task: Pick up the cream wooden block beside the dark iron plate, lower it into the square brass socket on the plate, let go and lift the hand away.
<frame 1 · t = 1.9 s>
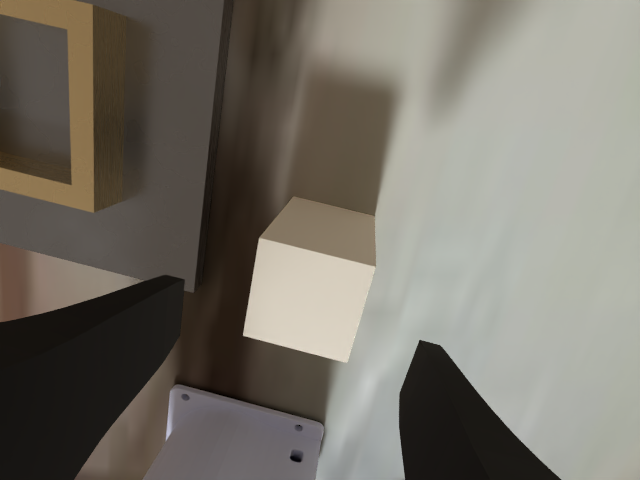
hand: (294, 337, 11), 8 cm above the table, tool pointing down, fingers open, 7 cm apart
cream block: (325, 243, 19), on the table
socket plate: (57, 96, 18), on the table
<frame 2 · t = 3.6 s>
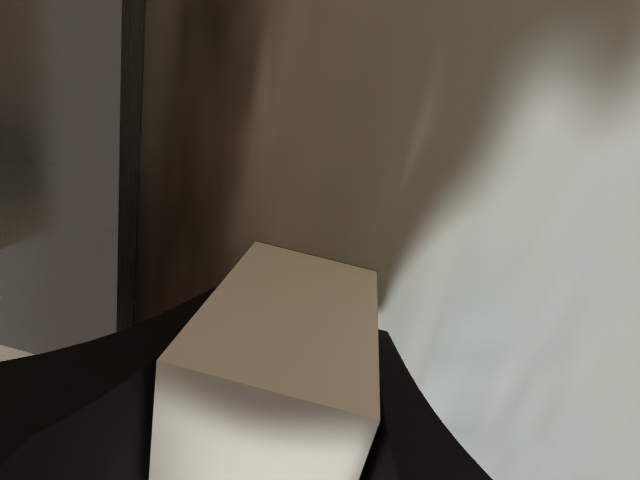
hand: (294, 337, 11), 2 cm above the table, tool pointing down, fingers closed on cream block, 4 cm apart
cream block: (303, 309, 13), on the table, touching gripper
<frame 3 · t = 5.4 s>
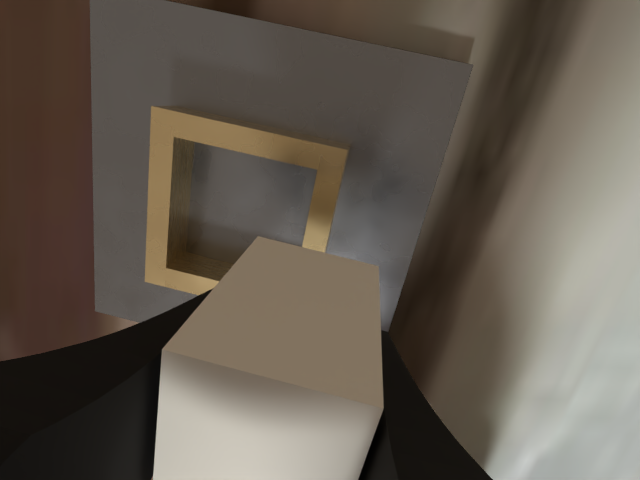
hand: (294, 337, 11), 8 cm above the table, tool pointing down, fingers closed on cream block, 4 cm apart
cream block: (305, 303, 13), point 7 cm above the table, touching gripper
socket plate: (256, 204, 19), on the table
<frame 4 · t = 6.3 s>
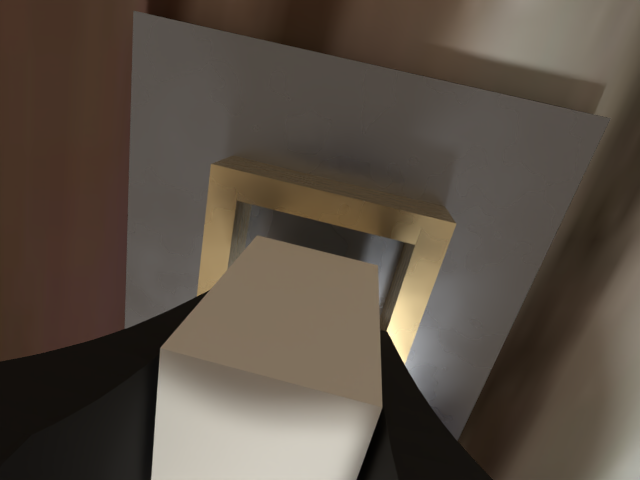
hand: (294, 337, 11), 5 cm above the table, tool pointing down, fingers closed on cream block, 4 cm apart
cream block: (305, 303, 13), point 4 cm above the table, touching gripper
socket plate: (318, 266, 16), on the table
when the fingers open (4 cm above the table, at t = 7.3 s): cream block drops 1 cm, resting on socket plate.
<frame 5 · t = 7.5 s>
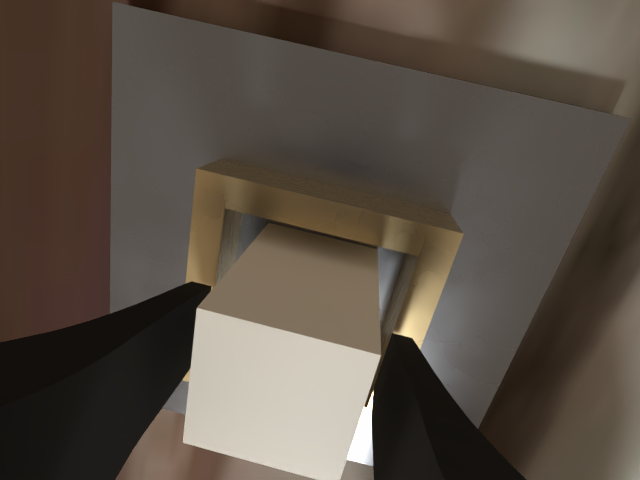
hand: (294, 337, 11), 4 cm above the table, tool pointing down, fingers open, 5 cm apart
cream block: (311, 284, 14), point 1 cm above the table, touching socket plate
socket plate: (314, 276, 15), on the table
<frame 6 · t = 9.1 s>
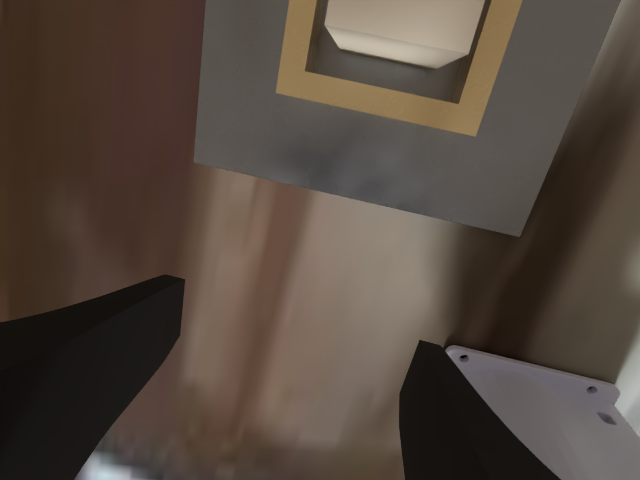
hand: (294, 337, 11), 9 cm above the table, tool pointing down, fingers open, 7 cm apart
cream block: (400, 6, 15), point 1 cm above the table, touching socket plate
socket plate: (397, 15, 16), on the table
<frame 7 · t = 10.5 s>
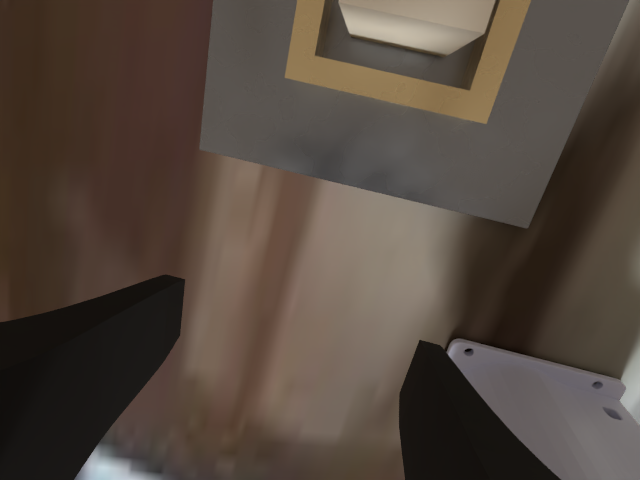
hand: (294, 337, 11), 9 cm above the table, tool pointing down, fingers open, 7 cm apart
socket plate: (407, 1, 16), on the table
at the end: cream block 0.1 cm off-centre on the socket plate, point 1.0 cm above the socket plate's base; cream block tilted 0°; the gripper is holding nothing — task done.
